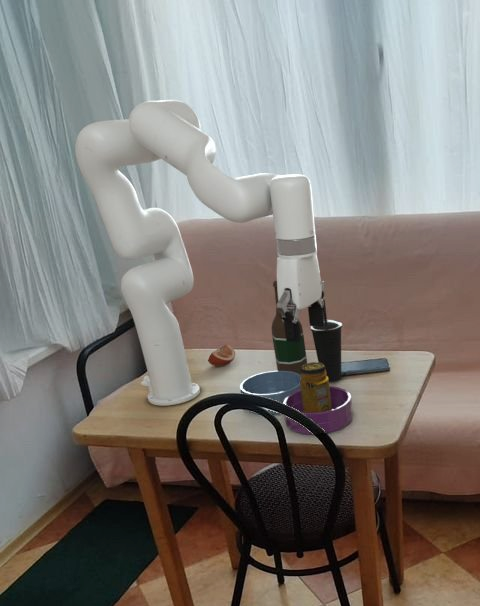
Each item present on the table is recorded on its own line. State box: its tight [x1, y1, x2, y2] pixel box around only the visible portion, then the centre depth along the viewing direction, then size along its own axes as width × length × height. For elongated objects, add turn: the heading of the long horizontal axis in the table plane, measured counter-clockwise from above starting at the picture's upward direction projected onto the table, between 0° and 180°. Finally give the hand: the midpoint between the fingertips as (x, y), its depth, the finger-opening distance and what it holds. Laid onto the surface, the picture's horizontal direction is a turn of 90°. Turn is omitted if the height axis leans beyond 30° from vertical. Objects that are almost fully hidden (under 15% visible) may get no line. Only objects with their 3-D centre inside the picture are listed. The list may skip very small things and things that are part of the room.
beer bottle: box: [271, 279, 308, 375], centre depth 155 cm, size 8×8×24 cm
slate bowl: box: [239, 370, 301, 415], centre depth 146 cm, size 14×14×5 cm
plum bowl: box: [283, 385, 354, 436], centre depth 135 cm, size 14×14×5 cm
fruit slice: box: [207, 343, 236, 367], centre depth 170 cm, size 8×7×5 cm
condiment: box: [300, 361, 332, 413], centre depth 133 cm, size 7×8×12 cm
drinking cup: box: [309, 298, 343, 384], centre depth 152 cm, size 8×8×20 cm
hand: (305, 333), depth 128 cm, fingers open, 9 cm apart
